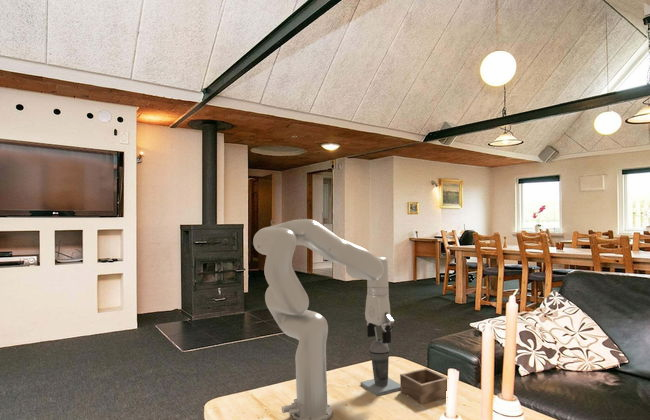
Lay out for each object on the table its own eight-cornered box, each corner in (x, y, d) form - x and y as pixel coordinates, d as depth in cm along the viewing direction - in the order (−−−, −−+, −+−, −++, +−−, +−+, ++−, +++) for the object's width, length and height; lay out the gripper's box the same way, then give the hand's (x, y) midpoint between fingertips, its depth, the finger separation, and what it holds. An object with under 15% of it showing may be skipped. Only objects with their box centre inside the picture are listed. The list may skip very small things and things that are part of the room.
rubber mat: (377, 395, 138) (377, 392, 138) (360, 384, 148) (360, 382, 148) (403, 389, 143) (403, 386, 143) (385, 378, 153) (385, 376, 153)
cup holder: (422, 404, 131) (421, 385, 131) (400, 391, 141) (400, 374, 141) (449, 396, 136) (448, 378, 136) (426, 385, 146) (426, 368, 146)
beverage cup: (391, 388, 141) (387, 329, 143) (370, 387, 143) (367, 329, 144) (392, 380, 148) (388, 324, 150) (372, 380, 150) (369, 324, 151)
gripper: (356, 289, 153) (357, 335, 152) (382, 295, 137) (383, 347, 136) (373, 287, 156) (374, 332, 155) (401, 293, 140) (402, 344, 140)
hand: (378, 339), depth 146 cm, fingers open, 9 cm apart
